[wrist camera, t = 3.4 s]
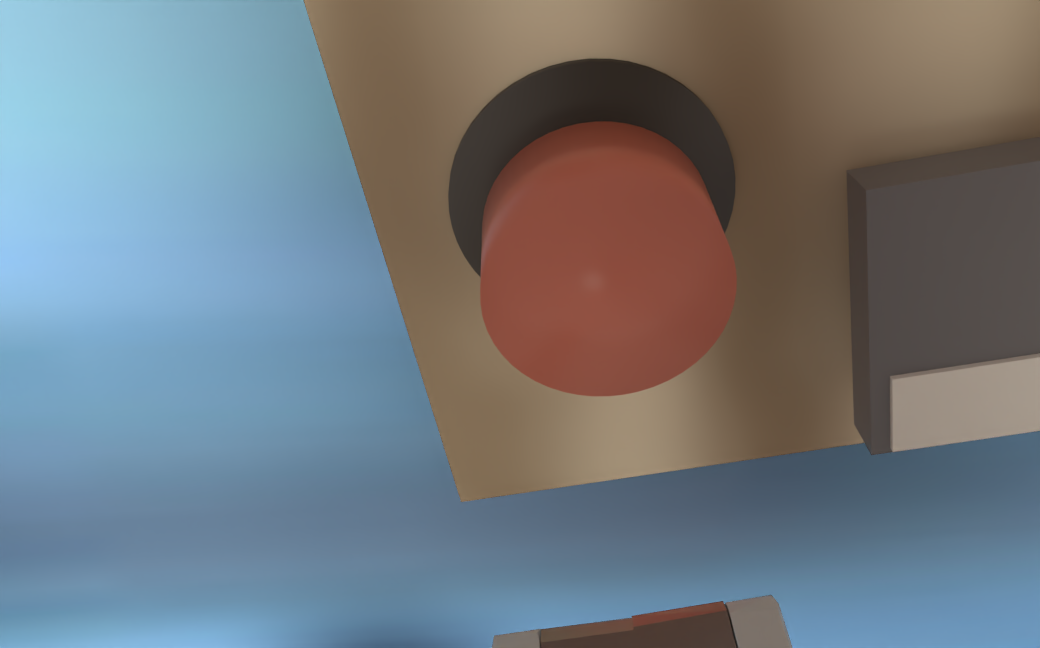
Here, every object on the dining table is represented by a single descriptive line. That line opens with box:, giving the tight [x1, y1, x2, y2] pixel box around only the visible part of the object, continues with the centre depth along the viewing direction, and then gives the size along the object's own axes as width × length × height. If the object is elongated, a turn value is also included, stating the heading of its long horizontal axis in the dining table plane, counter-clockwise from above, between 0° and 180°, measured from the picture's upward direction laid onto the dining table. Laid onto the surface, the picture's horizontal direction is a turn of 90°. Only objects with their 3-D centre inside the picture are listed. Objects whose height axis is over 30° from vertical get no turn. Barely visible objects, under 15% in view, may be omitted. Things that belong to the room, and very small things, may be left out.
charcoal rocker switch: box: [846, 137, 1040, 455], centre depth 19 cm, size 4×6×1 cm, turn 11°
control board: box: [304, 0, 1040, 502], centre depth 19 cm, size 16×20×4 cm
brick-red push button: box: [480, 121, 737, 396], centre depth 17 cm, size 4×4×2 cm
